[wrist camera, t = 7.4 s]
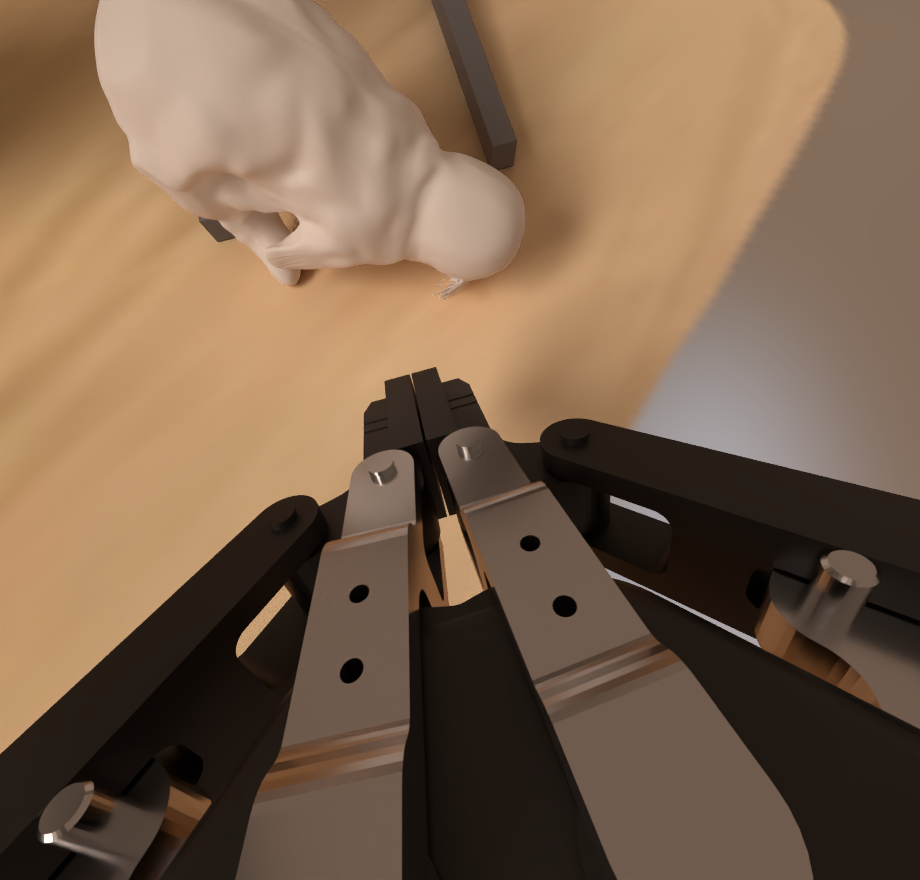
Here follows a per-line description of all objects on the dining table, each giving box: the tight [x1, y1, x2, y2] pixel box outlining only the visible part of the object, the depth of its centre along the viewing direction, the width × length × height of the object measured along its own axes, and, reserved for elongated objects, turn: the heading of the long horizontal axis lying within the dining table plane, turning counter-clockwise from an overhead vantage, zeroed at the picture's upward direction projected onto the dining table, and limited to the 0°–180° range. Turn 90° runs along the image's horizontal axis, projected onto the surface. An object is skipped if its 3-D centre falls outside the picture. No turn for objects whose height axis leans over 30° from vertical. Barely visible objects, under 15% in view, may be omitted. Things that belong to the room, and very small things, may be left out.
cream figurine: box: [94, 0, 526, 300], centre depth 13 cm, size 6×8×12 cm
